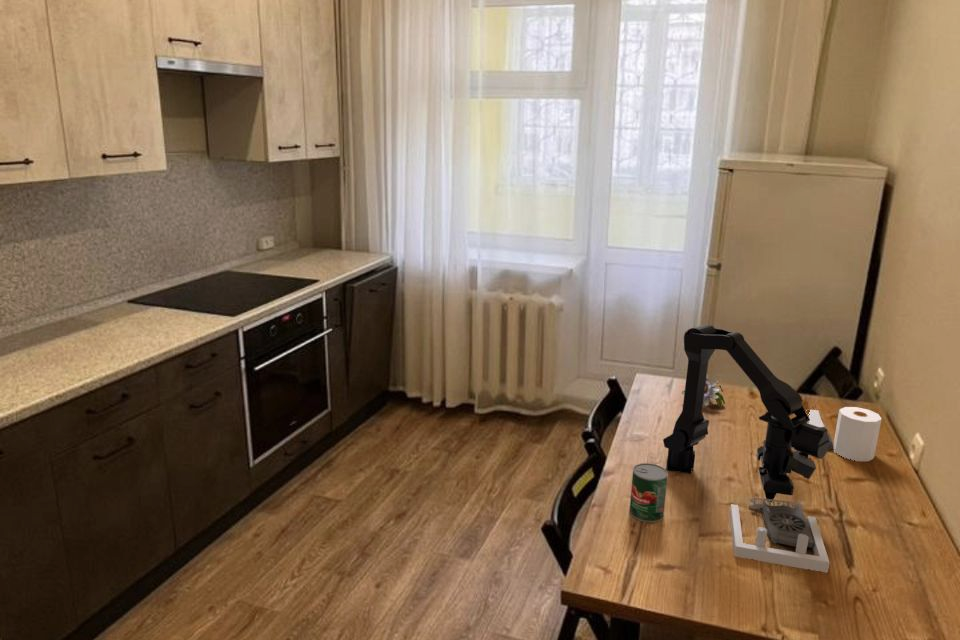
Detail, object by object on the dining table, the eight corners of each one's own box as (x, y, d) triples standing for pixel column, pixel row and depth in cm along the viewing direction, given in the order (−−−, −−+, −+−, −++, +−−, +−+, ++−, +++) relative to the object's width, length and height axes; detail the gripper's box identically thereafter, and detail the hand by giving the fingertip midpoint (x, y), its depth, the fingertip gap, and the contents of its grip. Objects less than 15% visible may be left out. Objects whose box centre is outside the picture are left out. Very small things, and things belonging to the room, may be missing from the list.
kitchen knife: (800, 407, 224) (817, 405, 222) (801, 414, 225) (818, 412, 223) (814, 443, 197) (833, 442, 195) (815, 452, 197) (835, 450, 196)
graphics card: (749, 494, 166) (803, 500, 163) (747, 508, 167) (801, 514, 164) (759, 534, 150) (818, 541, 148) (757, 549, 151) (816, 556, 149)
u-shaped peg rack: (734, 556, 147) (737, 531, 145) (729, 513, 163) (732, 490, 162) (827, 572, 142) (832, 547, 141) (813, 526, 158) (817, 503, 157)
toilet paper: (834, 457, 192) (841, 417, 188) (831, 442, 201) (838, 404, 198) (875, 465, 188) (883, 424, 185) (870, 449, 197) (878, 409, 194)
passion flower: (695, 422, 226) (676, 392, 225) (702, 405, 235) (683, 376, 233) (726, 411, 219) (707, 380, 218) (732, 394, 228) (713, 364, 227)
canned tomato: (665, 508, 165) (669, 466, 162) (662, 525, 158) (666, 482, 155) (631, 501, 168) (635, 460, 164) (627, 518, 160) (630, 475, 157)
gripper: (823, 465, 151) (812, 528, 155) (809, 430, 168) (799, 487, 172) (768, 458, 154) (759, 520, 158) (760, 424, 171) (752, 480, 175)
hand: (769, 501), depth 166 cm, fingers closed
